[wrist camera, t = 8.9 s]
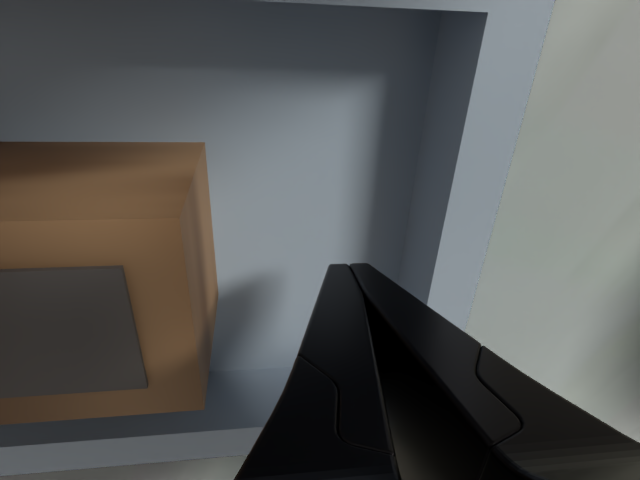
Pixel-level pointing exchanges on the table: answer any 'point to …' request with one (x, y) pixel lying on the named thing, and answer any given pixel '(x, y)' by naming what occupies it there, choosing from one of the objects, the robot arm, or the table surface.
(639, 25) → the table surface
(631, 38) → the table surface
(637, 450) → the robot arm
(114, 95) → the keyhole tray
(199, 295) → the bar
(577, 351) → the table surface
